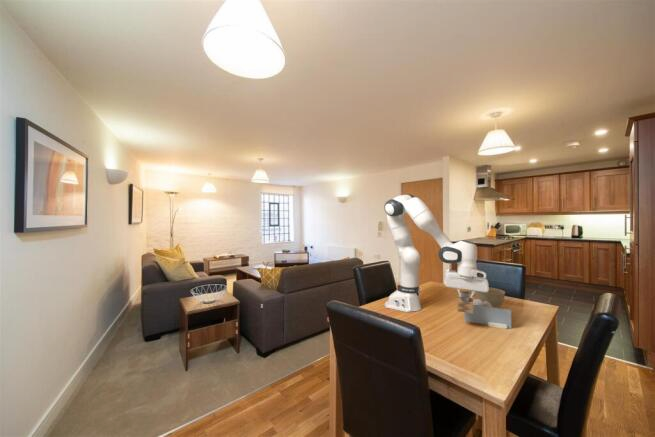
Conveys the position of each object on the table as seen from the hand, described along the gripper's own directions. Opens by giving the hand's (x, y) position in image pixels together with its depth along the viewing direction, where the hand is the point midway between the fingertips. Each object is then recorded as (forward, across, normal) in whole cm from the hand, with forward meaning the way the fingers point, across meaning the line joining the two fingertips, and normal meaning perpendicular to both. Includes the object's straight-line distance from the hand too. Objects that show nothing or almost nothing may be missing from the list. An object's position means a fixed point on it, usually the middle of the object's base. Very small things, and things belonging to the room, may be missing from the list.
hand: (465, 297), depth 134 cm
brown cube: (+7, 0, 0) cm, 7 cm away
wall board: (+14, +11, +8) cm, 20 cm away
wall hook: (+14, +12, +21) cm, 28 cm away
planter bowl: (+14, +15, +37) cm, 43 cm away
